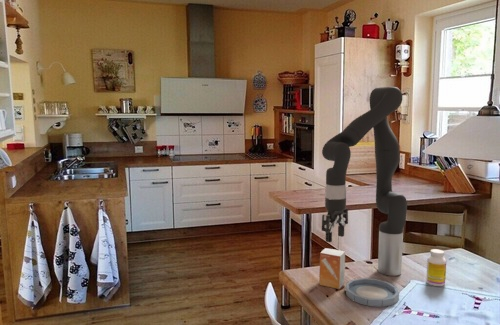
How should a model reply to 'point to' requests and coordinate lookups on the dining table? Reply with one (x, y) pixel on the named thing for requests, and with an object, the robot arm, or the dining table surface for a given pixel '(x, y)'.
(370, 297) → the grey shallow round dish
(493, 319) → the dining table surface
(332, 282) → the small box
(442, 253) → the supplement bottle
